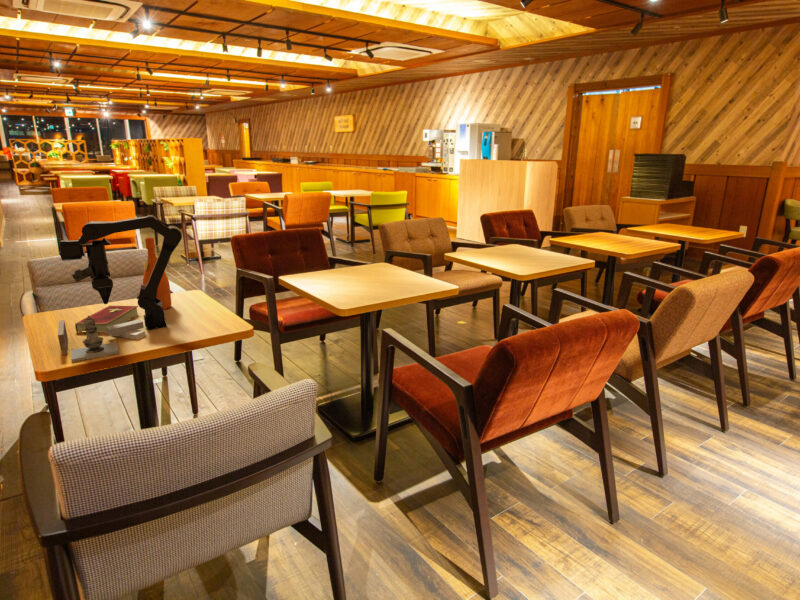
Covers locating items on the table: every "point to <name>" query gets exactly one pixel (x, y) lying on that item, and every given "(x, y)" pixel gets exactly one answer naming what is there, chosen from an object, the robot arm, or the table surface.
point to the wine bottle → (163, 287)
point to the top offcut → (124, 327)
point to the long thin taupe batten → (63, 337)
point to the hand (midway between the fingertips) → (105, 300)
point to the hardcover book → (109, 317)
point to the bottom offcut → (133, 334)
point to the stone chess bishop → (92, 337)
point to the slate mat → (81, 354)
